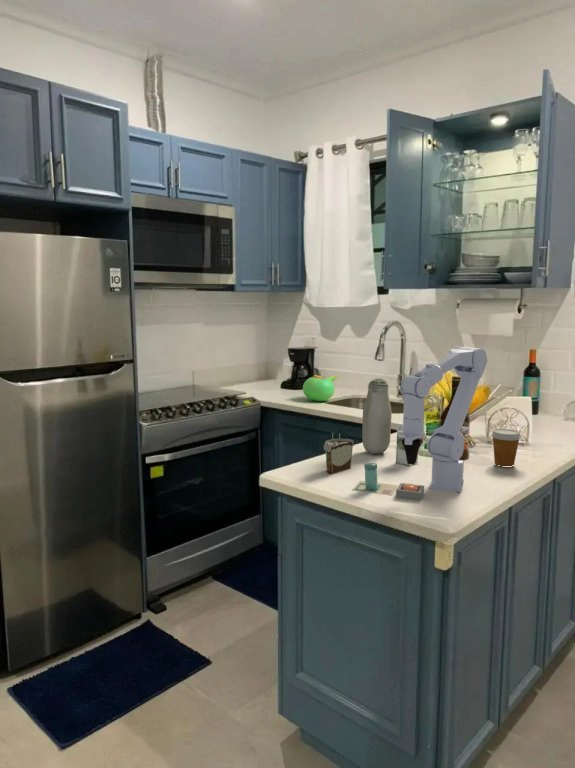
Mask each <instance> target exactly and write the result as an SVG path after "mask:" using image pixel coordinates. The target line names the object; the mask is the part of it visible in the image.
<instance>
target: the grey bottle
mask: <svg viewBox="0 0 575 768" xmlns="http://www.w3.org/2000/svg"><path fill="white" fill-rule="evenodd" d="M389 386H390V385H389V383H388V381H387V380H386V379H384V378H373V379H372V380H370V381H369V383H368V385H367V394H366V399H365V402H364V405H363V409H362V436H361V437H362V438H361V439H362V440H361V441H362V446H363V448H364V450H365V452H367V453H370V454H372V455H380V454H383V453H384V452H386V451H387V450H388V448H389V446H390V443H391V429H392V416H393V415H392V413H393V411H392V407H391V402H390V391H389V390H390V387H389Z"/></svg>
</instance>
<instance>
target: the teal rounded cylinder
mask: <svg viewBox="0 0 575 768" xmlns="http://www.w3.org/2000/svg"><path fill="white" fill-rule="evenodd" d="M364 481H365V489H366V490H377V483H378V464H377V463H376V462H366V463H364Z"/></svg>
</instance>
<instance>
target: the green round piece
mask: <svg viewBox="0 0 575 768" xmlns="http://www.w3.org/2000/svg"><path fill="white" fill-rule="evenodd" d="M337 379H339V376H330V377H327V376H321V375H316V374H315V375H313V376H311V377H309V378H307V379H306V380H305V381H304V383H303V385H302V393H303V394H304V395H305V397H306V398H307V399H308V400H310V401H314V402H325V401H327V400H330V399H331V398H332V397H333V396H334V394H335V389H336V388H335V385H334V383H333V381H335V380H337Z"/></svg>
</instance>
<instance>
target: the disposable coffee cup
mask: <svg viewBox="0 0 575 768" xmlns="http://www.w3.org/2000/svg"><path fill="white" fill-rule="evenodd" d="M491 437H492V442H493V444H492V445H493V457H494V458H493V459H494V465H495V464H496V465H500V466H512V465H514V466H515V462H516V457H517V453H518V447H519V443H520V442H519V441H520V439H521V437H522V436H521V434H520V431H518V430H514V429H508V428H496V429H495V428H494V429H493V431H492V433H491ZM496 465H495V466H496Z"/></svg>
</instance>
